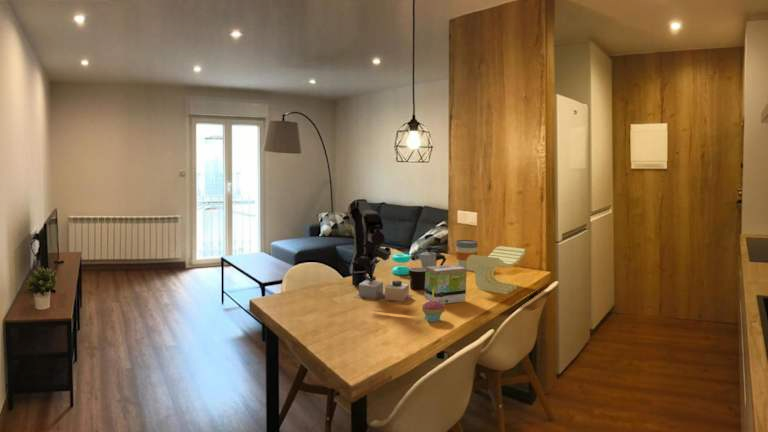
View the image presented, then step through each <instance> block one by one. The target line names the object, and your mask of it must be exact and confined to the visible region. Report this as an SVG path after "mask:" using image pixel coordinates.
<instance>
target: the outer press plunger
mask: <svg viewBox="0 0 768 432" xmlns="http://www.w3.org/2000/svg"><path fill="white" fill-rule="evenodd" d="M402 283H403V282H402V281H401V280H392V285H395V286H400V285H402Z"/></svg>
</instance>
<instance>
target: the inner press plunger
mask: <svg viewBox="0 0 768 432" xmlns="http://www.w3.org/2000/svg"><path fill="white" fill-rule="evenodd" d="M367 280H368V281H370V283H372V281H377V279H376V276H374V275H373V277H369V275H368V276H367Z"/></svg>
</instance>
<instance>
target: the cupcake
mask: <svg viewBox="0 0 768 432" xmlns="http://www.w3.org/2000/svg"><path fill="white" fill-rule="evenodd" d="M445 307H446V306H445V304H442V303H440V302H437V301H434V290H432V301H430V300H427V301H426V302H425V303H423V304H422V308H421V309H422V310H421V311H422V312H423V313H424V315H425V318H426V321H427V322H432V323H434V322H435V323H436V322H439V321H440V318H441V316H442V313H444V312H445V310H446V309H445Z"/></svg>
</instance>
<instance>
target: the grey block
mask: <svg viewBox="0 0 768 432" xmlns="http://www.w3.org/2000/svg"><path fill="white" fill-rule="evenodd" d="M383 289H384V281H381V280H375V281H372V283H370V281H368V280H365V281H363V282H362V283H360V284H359V286H358V294H359V296H360V297H369V298H377V297H379V296H380V295H382V294H383V292H384V290H383Z"/></svg>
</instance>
